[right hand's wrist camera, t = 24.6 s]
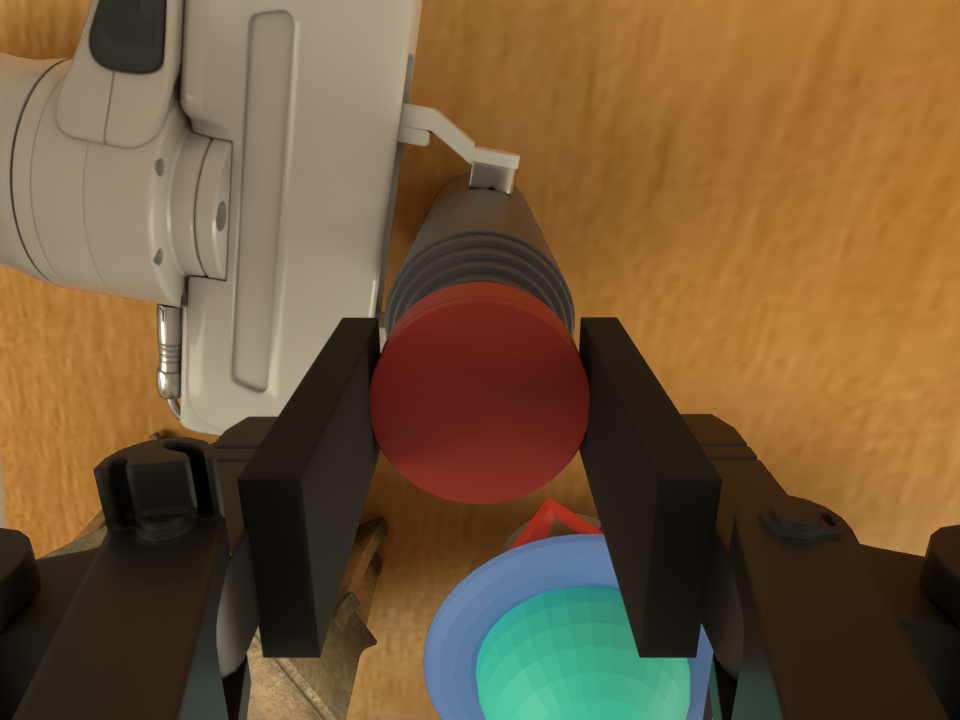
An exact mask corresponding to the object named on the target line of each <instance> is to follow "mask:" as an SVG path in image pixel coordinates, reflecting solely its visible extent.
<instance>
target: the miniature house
mask: <svg viewBox="0 0 960 720" xmlns="http://www.w3.org/2000/svg"><path fill="white" fill-rule="evenodd" d="M149 438H150V440H151V441H152V440H158V439H163V438H162V437H161V435H160V434H159V433H158V432H156V433H154V434H153V435H152V436H150V437H149ZM214 444H215V443H214ZM214 444H212V445H211V446H212V447H213V445H214ZM388 529H389V527H388V526H387V524H386V523H385V521H384V520H383V518H382V517H380V518H378V519H376V520H373V521H371V522H369V523H367V524H364V525H362V526H360V527H358V529H357V532H356V535H355V539H354V542H353V546H352V549H351V553H350V556H349V560H348V563H347V567H346V570H345V573H344V577H343V580H342V584H341V587H340V591H339V594H338V598H337V601H336V604H335V608H334V611H333V615H332V618H331V622H330V625H329V629H328V632H327V636H326V639H325V642H324V646H323V649H322V653H321V656H320V658H263V653H262V646H261V639H260V632H259V626H258V628H257V630H256V633H255V635H254V637H253V640H252V642H251V644H250V647H249V649H248V651H247V657H248V663H249V670H250V676H251V690H250V698H249V706H248V714H247V720H346V717H347V712H348V708H349V703H350V698H351V694H352V689H353V685H354V680H355V676H356V671H357V667H358V662H359V658H360V655H361V653H362V652H363V651H364V650H365V649H366V648H368V647H371V646H373V645H375V644H376V643H377V641H376V639H375V638H374V636H373V635H372V634H371V632H370V631H369V630H368V628H367V627H366V626H367V621H368V617H369V612H370V608H371V603H372V598H373V594H374V589H375V585H376V580H377V576H379V575H380V574H381V570H382V565H383V564H382V562H381V561H380V559H379V558H378V556H377V555H376V553H375V551H376V549H377V547H378V546H379V544H380V542H381V541H382V539H383V538H384V537H386V536H387V534H388ZM107 531H108V530H107V526H106V522H105V517H104V513H103V509H102V510H101V511H100V512H99V513H98V515H97V516H96V517H95V518H94V519H93V520H92V521H91V522H90V523H89V524H88V525H87V526H86V527H85V528H84V529H83V530H82V532H81V533H80V534H79V535H78V536H77V537H76V538H75V539H74V540H73V541H72V542H71V543H70V544H68V545H66V546H64V547H62V548H60V549H58V550H56V551H54V552H52V553H49V554H47V555H45V556H43V557H41V558H39V559H43V558H48V557H53V556H59V555H64V554H69V553H74V552H80V551H85V550H89V549H93V548H97V547H100V545H101V543H102V541H103V539H104V537H105V535H106V533H107Z"/></svg>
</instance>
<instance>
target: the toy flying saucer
mask: <svg viewBox="0 0 960 720" xmlns="http://www.w3.org/2000/svg"><path fill="white" fill-rule="evenodd" d="M712 657H713V649H712V647H711V644H710V642H709V640H708V637H707V635H706V633H705V630H704V628H703V626H702V623H701V629H700V636H699V643H698V649H697V656H696V658H639V654H638V651H637V647H636V644H635V641H634V637H633V634H632V630H631V627H630V623H629V620H628V616H627V613H626V609H625V606H624V603H623V599H622V596H621V592H620V589H619V585H618V582H617V578H616V575H615V571H614V568H613V565H612V561H611V558H610V554H609V551H608V547H607V544H606V540H605V537H604V533H603V530H602V527H601V523H600V520H598V519H595V518H593V517H591V516H587V515H584V514H580V513H572V512H571V511H569V510H568V509H566V508H565V507H563V506H562V505H560V504H559V503H557V502H556V501H554V500H553V499H551V498H550V497H548V498H547V499H546V500H545V502H544V503H543V504H542V506H541V507H540V508H539V510H538V511H537V513H536V514H535V515H534V517H533V518H532V519H531V520H530V521H528V522H526V523H525V524H523V525H522V526H520V527H519V528H518V529H516V530H515V531H514V532H513V533H512V534H511V535H510V536H509V537H508V539H507V540H506V542H505V543H504V545H503V547H502V548H501V551H500V554H499V556H497V557H495V558H493V559H491V560H489V561H488V562H486V563H485V564H483V565H482V566H480V567H479V568H477V569H476V570H474V571H473V572H472V573H471V574H469V575H468V576H467V577H466V578H465V579H464V580H462V581H461V582H460V583H459V584H458V585H457V586H456V587H455V589H454V590H453V591H452V592H451V593H450V594H449V595H448V596H447V598H446V599H445V601H444V602H443V604H442V605H441V607H440V608H439V610H438V611H437V613H436V615H435V617H434V619H433V621H432V623H431V626H430V628H429V631H428V635H427V638H426V642H425V647H424V656H423V667H424V678H425V682H426V687H427V691H428V694H429V696H430V698H431V701H432V703H433V706H434V707H435V709H436V711H437V712H438V714H439V716H440V717H441V719H442V720H703V714H704V708H705V701H706V695H707V689H708V682H709V676H710V670H711V663H712Z"/></svg>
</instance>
